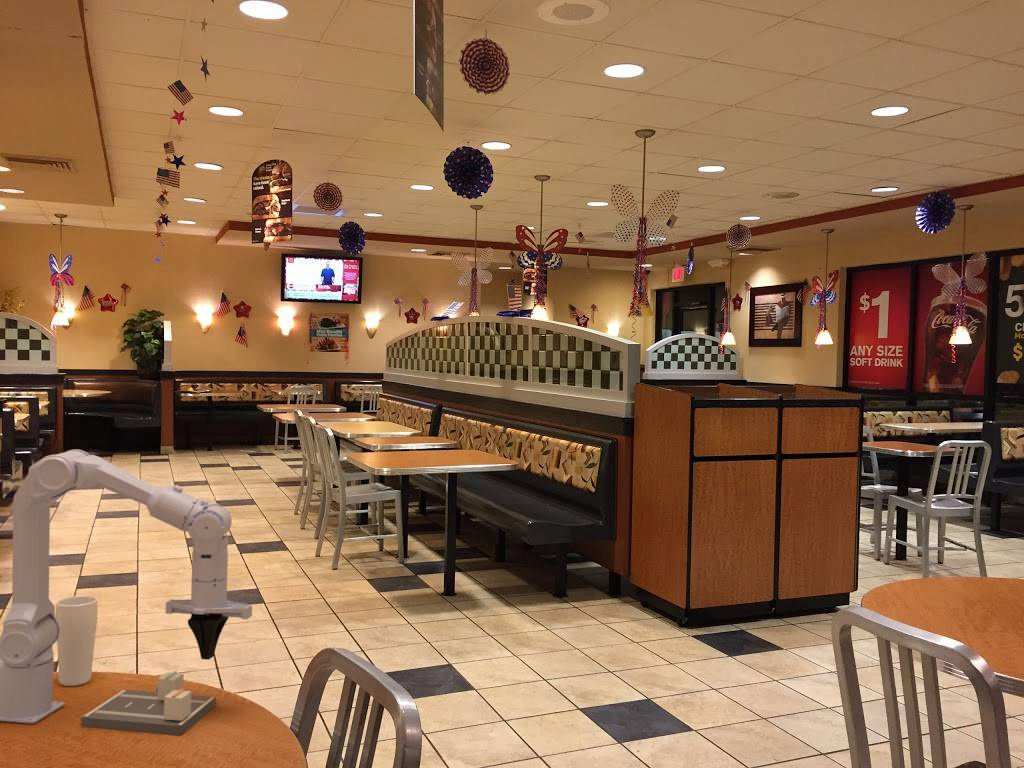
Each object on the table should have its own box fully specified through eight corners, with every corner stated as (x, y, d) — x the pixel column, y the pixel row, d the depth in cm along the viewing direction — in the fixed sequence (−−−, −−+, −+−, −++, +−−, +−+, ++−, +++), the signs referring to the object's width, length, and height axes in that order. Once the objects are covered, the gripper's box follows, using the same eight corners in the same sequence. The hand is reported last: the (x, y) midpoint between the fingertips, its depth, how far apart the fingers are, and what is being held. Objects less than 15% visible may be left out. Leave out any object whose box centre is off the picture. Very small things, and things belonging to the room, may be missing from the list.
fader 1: (157, 699, 144) (158, 676, 144) (166, 693, 147) (167, 670, 147) (174, 701, 144) (174, 678, 144) (183, 694, 147) (183, 672, 147)
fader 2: (163, 719, 137) (164, 695, 137) (173, 711, 140) (173, 688, 140) (181, 720, 137) (182, 696, 136) (190, 713, 140) (191, 689, 139)
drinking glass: (78, 690, 152) (80, 607, 152) (45, 686, 153) (47, 603, 153) (104, 677, 159) (105, 597, 158) (72, 673, 160) (73, 594, 160)
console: (81, 726, 138) (81, 716, 138) (123, 697, 149) (123, 689, 149) (180, 735, 136) (180, 725, 135) (215, 705, 147) (216, 696, 147)
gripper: (156, 581, 141) (154, 662, 142) (240, 586, 140) (238, 668, 140) (178, 570, 148) (176, 648, 149) (258, 576, 147) (256, 654, 147)
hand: (207, 657), depth 145 cm, fingers closed
